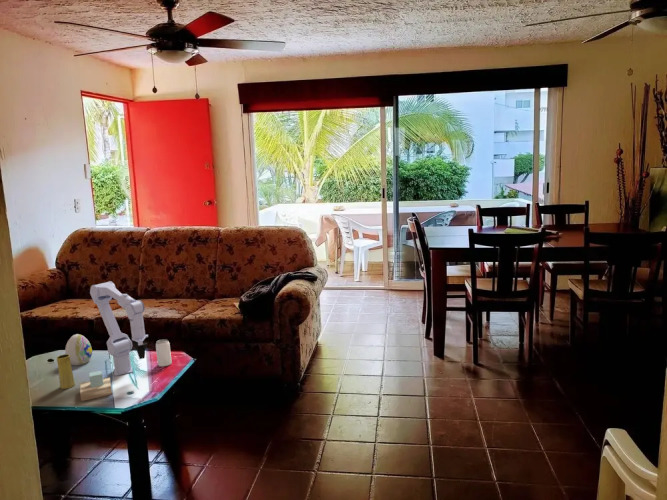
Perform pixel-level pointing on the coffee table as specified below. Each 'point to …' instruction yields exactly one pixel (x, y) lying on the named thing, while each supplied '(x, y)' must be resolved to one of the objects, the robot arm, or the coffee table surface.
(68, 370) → the vase
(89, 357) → the decorative egg
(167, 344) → the can
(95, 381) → the teal cube
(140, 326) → the robot arm
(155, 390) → the coffee table surface
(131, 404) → the coffee table surface
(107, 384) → the beech block
